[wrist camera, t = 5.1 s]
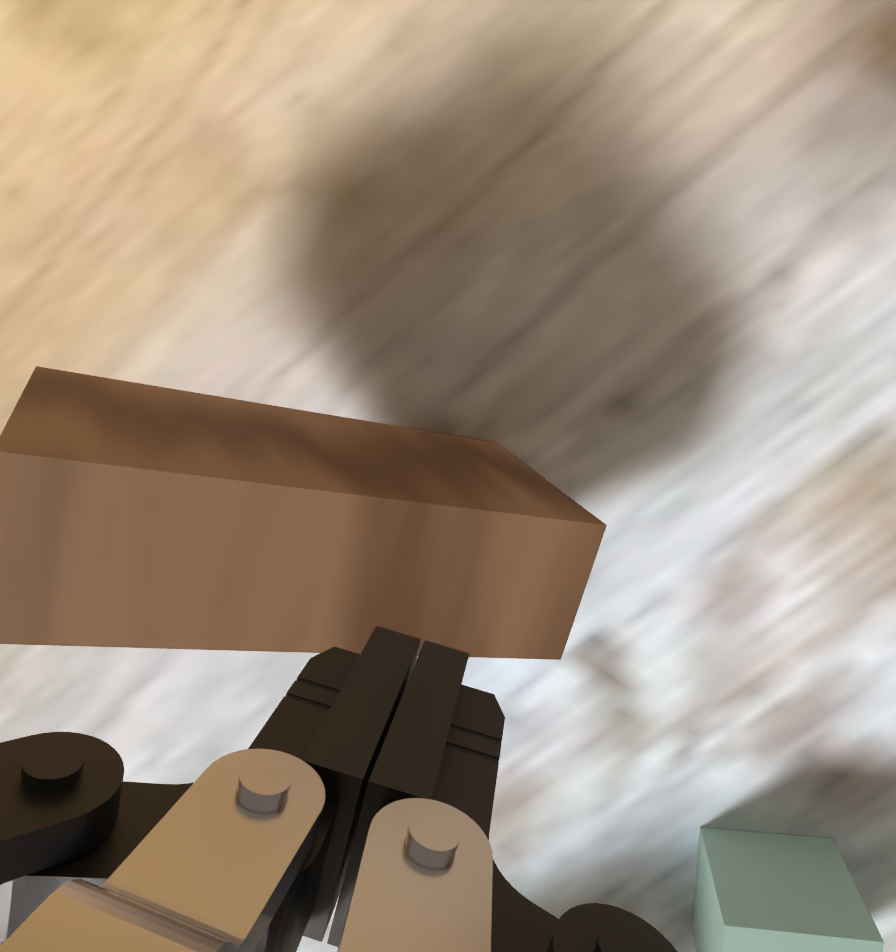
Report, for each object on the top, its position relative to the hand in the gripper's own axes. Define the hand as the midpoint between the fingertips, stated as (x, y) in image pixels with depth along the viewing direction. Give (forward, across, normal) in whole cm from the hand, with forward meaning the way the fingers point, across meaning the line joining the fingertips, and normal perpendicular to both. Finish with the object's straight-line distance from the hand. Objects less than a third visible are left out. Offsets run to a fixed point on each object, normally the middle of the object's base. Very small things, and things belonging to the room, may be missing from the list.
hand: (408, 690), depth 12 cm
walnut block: (+9, -1, 0) cm, 9 cm away
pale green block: (+12, -12, +10) cm, 19 cm away
